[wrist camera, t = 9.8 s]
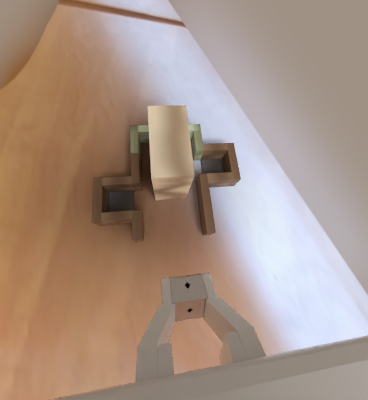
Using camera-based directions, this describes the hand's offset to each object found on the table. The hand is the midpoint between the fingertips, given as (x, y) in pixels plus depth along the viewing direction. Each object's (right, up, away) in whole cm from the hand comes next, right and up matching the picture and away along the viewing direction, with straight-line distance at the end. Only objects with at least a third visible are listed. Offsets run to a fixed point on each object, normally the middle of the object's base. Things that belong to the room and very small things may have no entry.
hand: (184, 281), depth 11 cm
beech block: (-3, +10, +19) cm, 22 cm away
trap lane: (-2, +8, +19) cm, 20 cm away
